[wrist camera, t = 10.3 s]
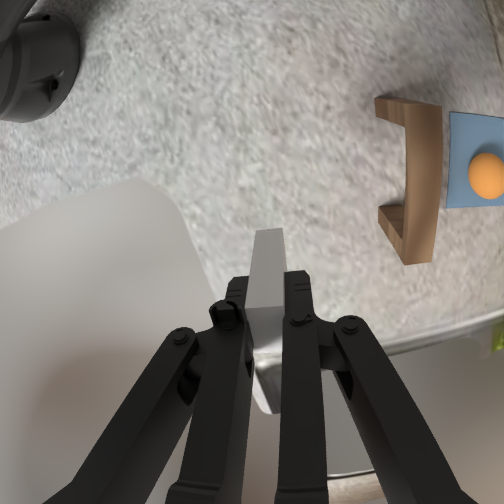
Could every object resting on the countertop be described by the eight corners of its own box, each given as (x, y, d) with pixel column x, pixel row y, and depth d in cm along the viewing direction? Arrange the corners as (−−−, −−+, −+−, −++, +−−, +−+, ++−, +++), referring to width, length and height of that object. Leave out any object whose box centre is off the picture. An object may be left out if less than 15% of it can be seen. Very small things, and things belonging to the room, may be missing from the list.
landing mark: (449, 112, 25) (450, 112, 25) (516, 120, 24) (517, 121, 24) (445, 207, 31) (446, 208, 31) (509, 204, 30) (510, 205, 30)
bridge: (378, 222, 34) (404, 265, 26) (374, 98, 26) (409, 104, 18) (400, 220, 33) (431, 261, 25) (400, 98, 26) (441, 106, 18)
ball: (511, 156, 24) (473, 146, 28) (509, 161, 21) (465, 150, 25) (506, 198, 27) (470, 187, 31) (502, 210, 24) (461, 197, 28)
